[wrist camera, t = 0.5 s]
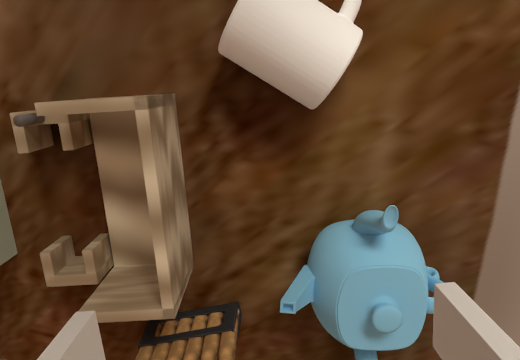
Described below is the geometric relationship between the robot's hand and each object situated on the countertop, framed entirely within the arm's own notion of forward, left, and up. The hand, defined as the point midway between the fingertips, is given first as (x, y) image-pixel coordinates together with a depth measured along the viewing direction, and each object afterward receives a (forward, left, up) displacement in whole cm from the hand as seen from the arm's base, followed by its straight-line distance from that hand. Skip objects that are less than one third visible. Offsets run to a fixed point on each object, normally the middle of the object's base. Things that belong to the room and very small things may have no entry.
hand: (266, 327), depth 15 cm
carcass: (+1, -15, -26) cm, 31 cm away
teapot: (+11, +9, -27) cm, 30 cm away
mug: (-14, +4, -27) cm, 31 cm away
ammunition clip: (+17, -9, -27) cm, 33 cm away
